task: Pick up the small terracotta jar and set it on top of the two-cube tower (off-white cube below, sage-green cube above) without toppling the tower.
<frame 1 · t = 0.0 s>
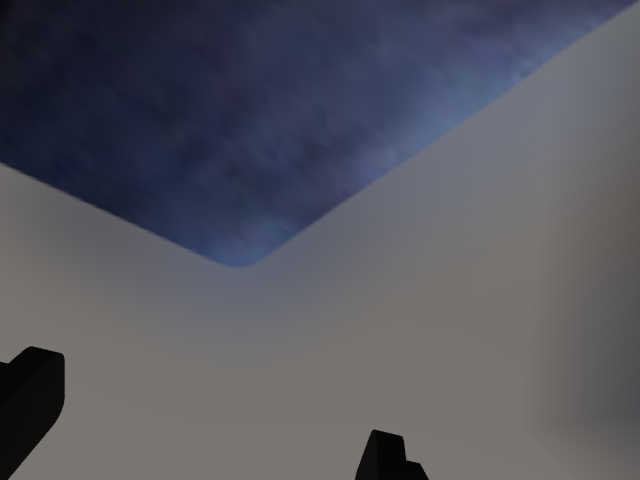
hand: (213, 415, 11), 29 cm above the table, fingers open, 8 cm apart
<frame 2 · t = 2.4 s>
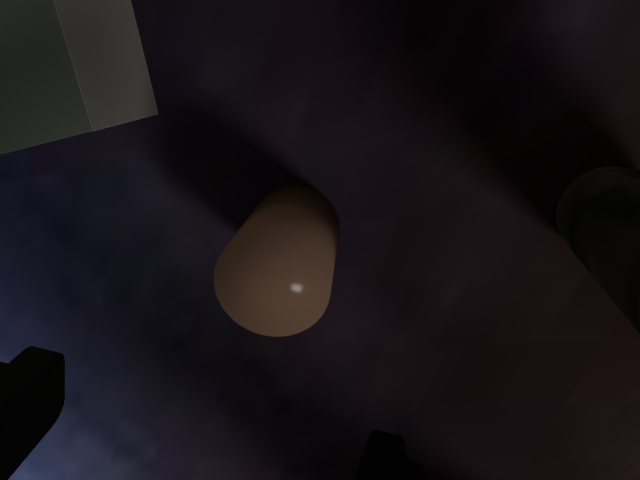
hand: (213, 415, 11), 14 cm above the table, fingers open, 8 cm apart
base block: (86, 59, 22), on the table, touching mid block
beverage cup: (600, 208, 23), on the table
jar: (295, 227, 24), on the table
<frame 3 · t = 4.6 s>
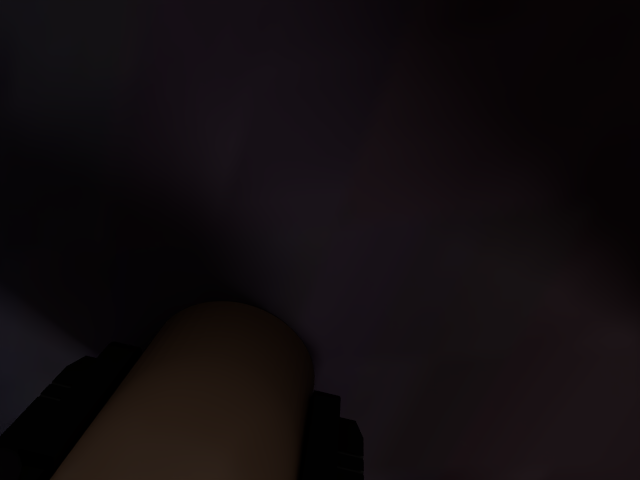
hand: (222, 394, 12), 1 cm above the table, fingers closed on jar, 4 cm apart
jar: (231, 373, 13), on the table, touching gripper
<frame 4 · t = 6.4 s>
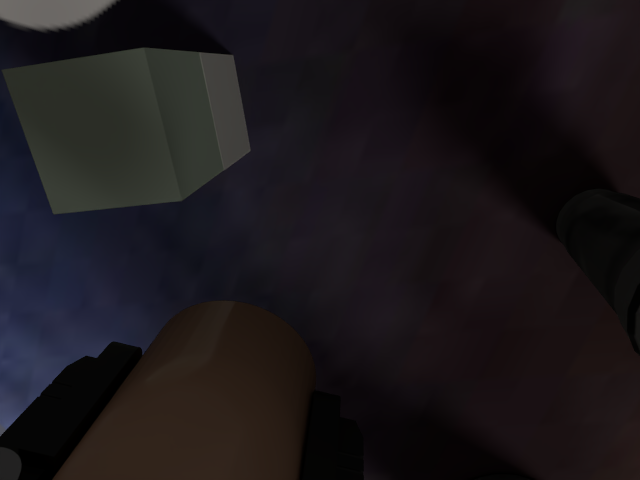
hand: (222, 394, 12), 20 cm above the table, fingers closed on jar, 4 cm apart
base block: (198, 110, 29), on the table, touching mid block
mid block: (158, 120, 24), point 6 cm above the table, touching base block
beverage cup: (590, 220, 30), on the table
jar: (233, 372, 13), point 19 cm above the table, touching gripper
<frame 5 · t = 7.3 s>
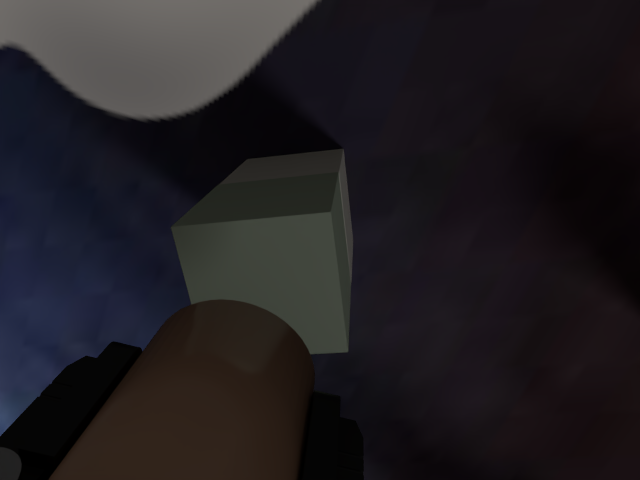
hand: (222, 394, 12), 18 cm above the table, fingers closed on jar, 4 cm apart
base block: (301, 200, 28), on the table, touching mid block
mid block: (286, 235, 23), point 6 cm above the table, touching base block
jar: (232, 372, 13), point 17 cm above the table, touching gripper
when the fingers open (14 cm above the table, at t = 8.3 s): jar stays where it is, resting on mid block.
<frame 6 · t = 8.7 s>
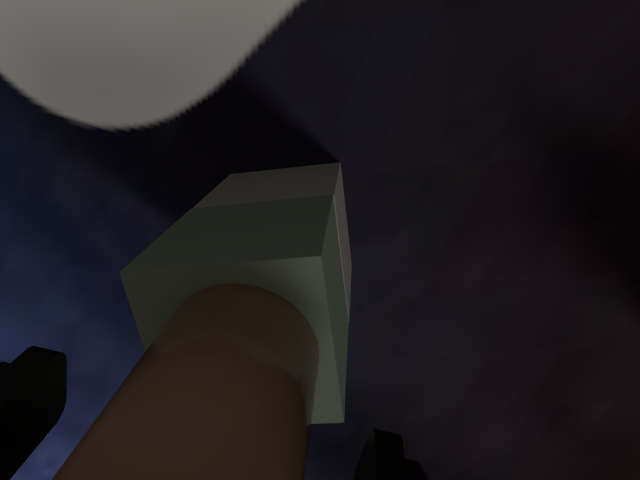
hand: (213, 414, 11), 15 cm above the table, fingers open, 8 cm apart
base block: (292, 220, 25), on the table, touching mid block
mid block: (272, 267, 19), point 6 cm above the table, touching base block, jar
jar: (242, 352, 14), point 12 cm above the table, touching mid block
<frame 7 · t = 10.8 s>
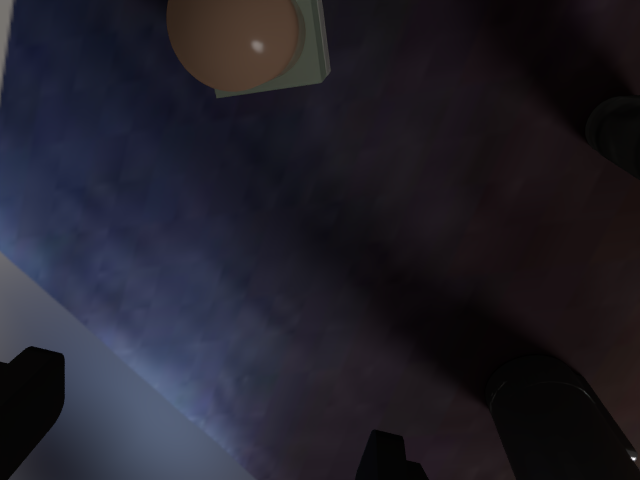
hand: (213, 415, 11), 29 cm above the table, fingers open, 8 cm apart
base block: (287, 36, 35), on the table, touching mid block
mid block: (275, 34, 29), point 6 cm above the table, touching base block, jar
beverage cup: (613, 124, 36), on the table
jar: (260, 32, 24), point 12 cm above the table, touching mid block
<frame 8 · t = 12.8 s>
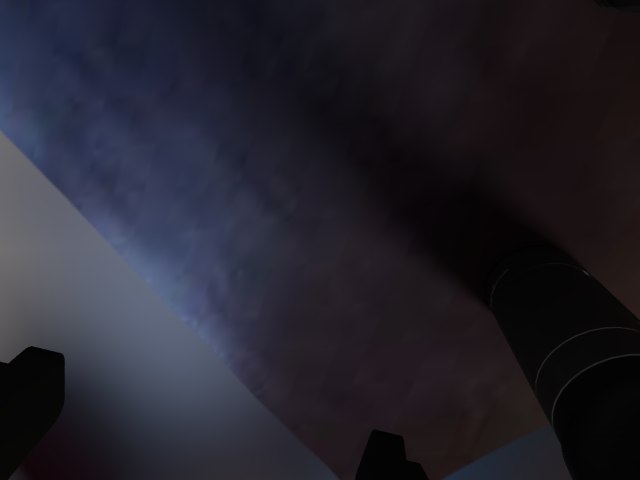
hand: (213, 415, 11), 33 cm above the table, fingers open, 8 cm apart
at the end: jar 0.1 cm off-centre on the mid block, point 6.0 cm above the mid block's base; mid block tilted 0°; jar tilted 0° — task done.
